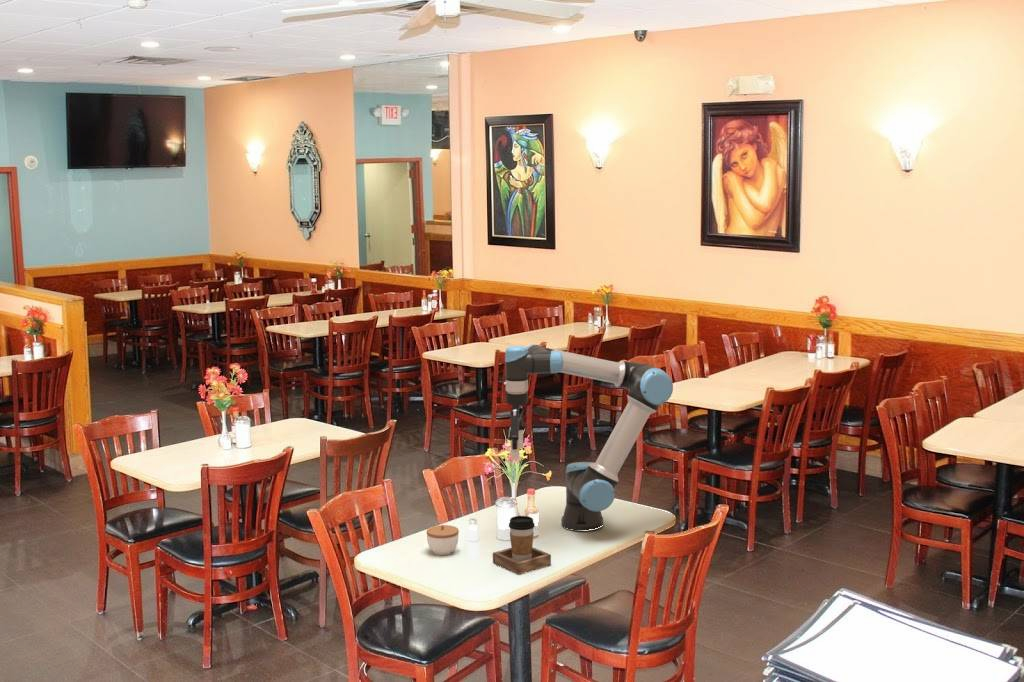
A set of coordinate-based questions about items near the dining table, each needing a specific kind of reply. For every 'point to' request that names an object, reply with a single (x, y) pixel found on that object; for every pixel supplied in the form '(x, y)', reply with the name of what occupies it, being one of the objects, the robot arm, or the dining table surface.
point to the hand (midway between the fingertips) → (517, 453)
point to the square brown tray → (507, 562)
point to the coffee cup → (521, 537)
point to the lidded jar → (442, 539)
